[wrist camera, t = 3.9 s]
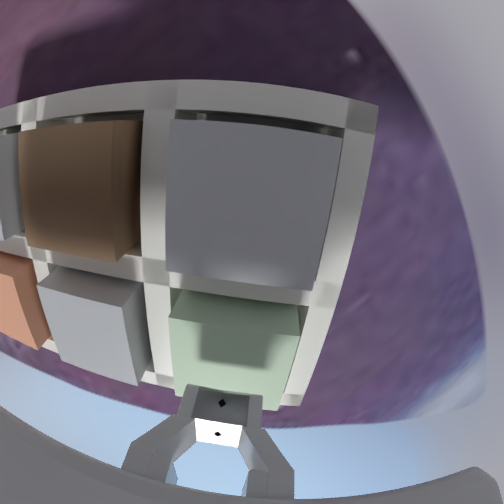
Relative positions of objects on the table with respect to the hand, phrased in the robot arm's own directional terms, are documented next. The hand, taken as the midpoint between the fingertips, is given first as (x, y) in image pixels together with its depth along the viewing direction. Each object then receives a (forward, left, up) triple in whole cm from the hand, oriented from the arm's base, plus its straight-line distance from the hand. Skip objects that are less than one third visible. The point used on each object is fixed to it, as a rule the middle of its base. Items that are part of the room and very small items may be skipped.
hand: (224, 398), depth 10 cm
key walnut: (-7, -7, -4) cm, 11 cm away
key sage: (0, 0, -4) cm, 4 cm away
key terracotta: (0, -14, -4) cm, 15 cm away
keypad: (-4, -7, -8) cm, 11 cm away
